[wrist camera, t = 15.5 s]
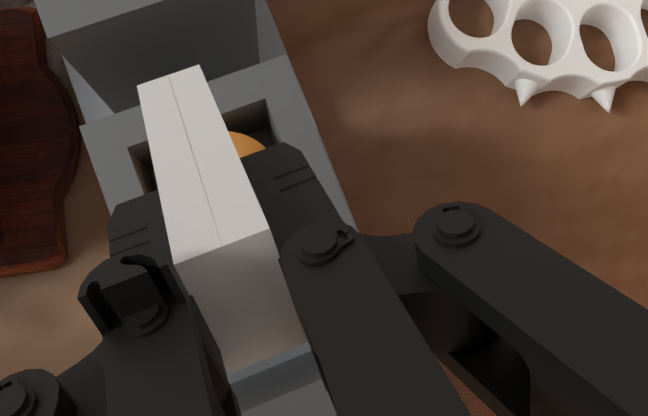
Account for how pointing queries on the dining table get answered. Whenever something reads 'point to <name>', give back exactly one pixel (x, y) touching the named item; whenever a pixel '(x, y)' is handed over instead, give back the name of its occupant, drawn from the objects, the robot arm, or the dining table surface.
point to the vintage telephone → (32, 148)
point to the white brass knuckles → (567, 49)
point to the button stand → (234, 106)
